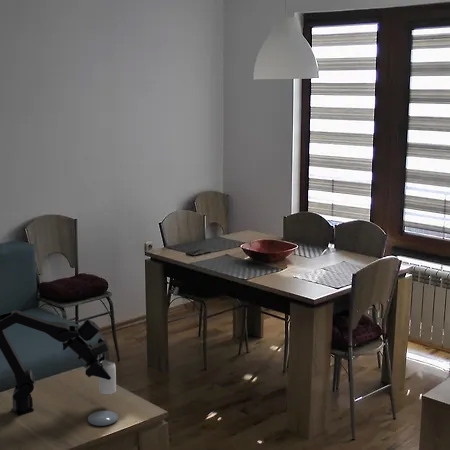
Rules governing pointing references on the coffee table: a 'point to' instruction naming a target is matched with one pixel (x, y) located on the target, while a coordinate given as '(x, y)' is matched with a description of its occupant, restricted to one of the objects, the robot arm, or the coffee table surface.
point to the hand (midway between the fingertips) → (111, 375)
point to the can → (108, 385)
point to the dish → (102, 418)
